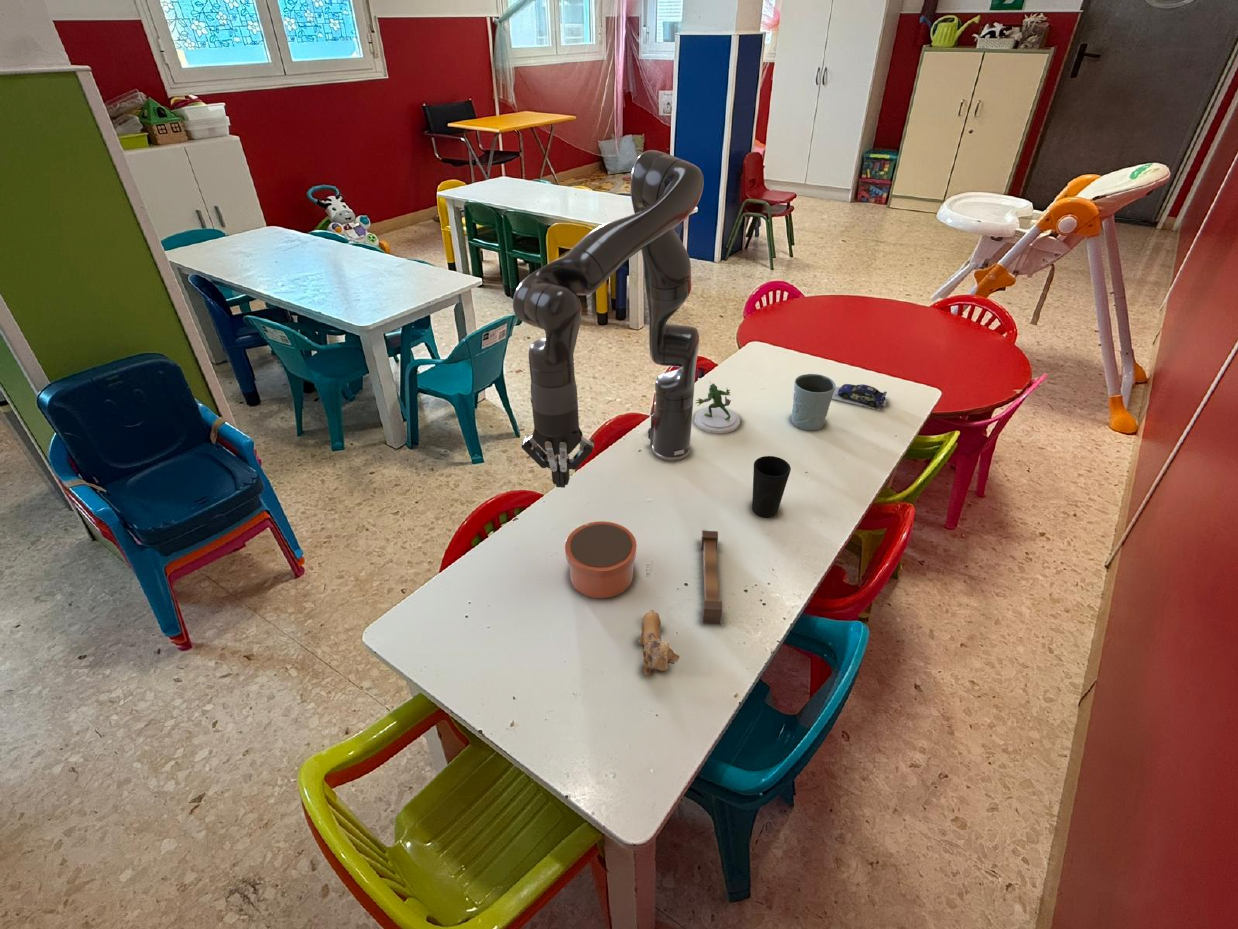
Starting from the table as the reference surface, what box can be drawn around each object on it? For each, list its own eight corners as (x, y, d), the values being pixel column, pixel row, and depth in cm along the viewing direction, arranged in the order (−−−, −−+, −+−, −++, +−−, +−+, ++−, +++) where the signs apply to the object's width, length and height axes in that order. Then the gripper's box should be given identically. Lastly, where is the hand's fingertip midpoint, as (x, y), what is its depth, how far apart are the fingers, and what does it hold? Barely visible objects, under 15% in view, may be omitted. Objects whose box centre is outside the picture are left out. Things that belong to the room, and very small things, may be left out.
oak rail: (720, 624, 115) (722, 610, 112) (702, 622, 115) (704, 608, 113) (716, 544, 131) (717, 531, 129) (700, 543, 131) (702, 530, 129)
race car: (828, 398, 179) (831, 384, 177) (833, 388, 184) (837, 374, 181) (884, 411, 174) (888, 397, 171) (887, 400, 178) (891, 386, 176)
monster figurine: (720, 405, 177) (724, 372, 170) (748, 425, 168) (753, 391, 162) (685, 417, 172) (688, 383, 166) (713, 438, 163) (716, 403, 157)
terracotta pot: (562, 598, 120) (559, 568, 115) (572, 548, 131) (570, 519, 126) (633, 603, 119) (634, 572, 114) (638, 552, 130) (638, 522, 125)
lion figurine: (679, 687, 104) (682, 653, 99) (648, 693, 103) (650, 659, 98) (655, 618, 116) (657, 584, 110) (627, 624, 115) (627, 590, 109)
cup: (782, 523, 137) (791, 479, 129) (746, 518, 138) (753, 474, 131) (782, 501, 143) (790, 457, 136) (747, 496, 144) (754, 453, 137)
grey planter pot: (831, 419, 170) (840, 379, 163) (819, 436, 164) (828, 396, 157) (795, 408, 175) (802, 369, 168) (782, 425, 168) (789, 385, 161)
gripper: (597, 391, 106) (600, 474, 116) (520, 388, 107) (529, 470, 117) (591, 415, 100) (595, 500, 110) (509, 411, 101) (520, 495, 111)
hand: (561, 484), depth 114 cm, fingers closed
